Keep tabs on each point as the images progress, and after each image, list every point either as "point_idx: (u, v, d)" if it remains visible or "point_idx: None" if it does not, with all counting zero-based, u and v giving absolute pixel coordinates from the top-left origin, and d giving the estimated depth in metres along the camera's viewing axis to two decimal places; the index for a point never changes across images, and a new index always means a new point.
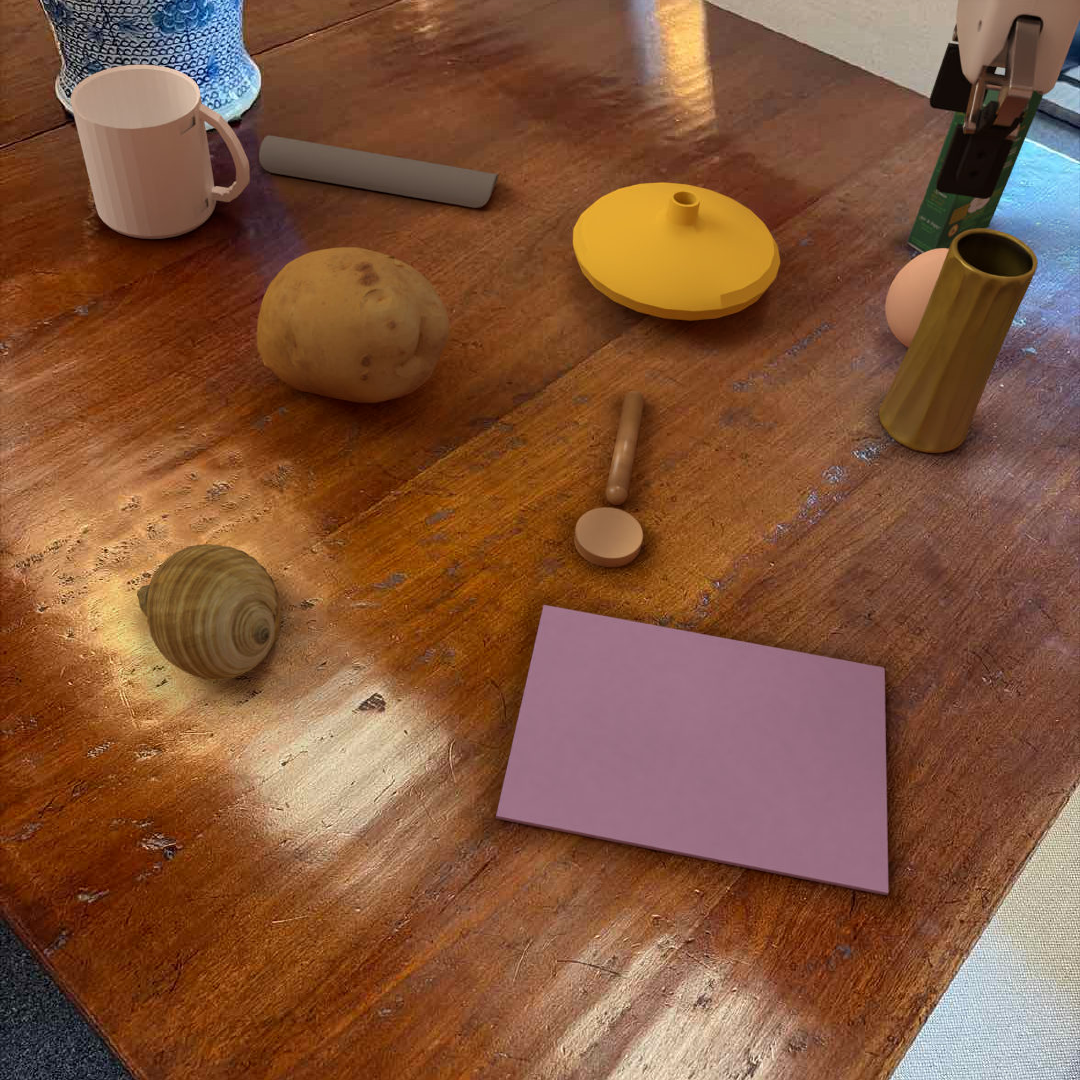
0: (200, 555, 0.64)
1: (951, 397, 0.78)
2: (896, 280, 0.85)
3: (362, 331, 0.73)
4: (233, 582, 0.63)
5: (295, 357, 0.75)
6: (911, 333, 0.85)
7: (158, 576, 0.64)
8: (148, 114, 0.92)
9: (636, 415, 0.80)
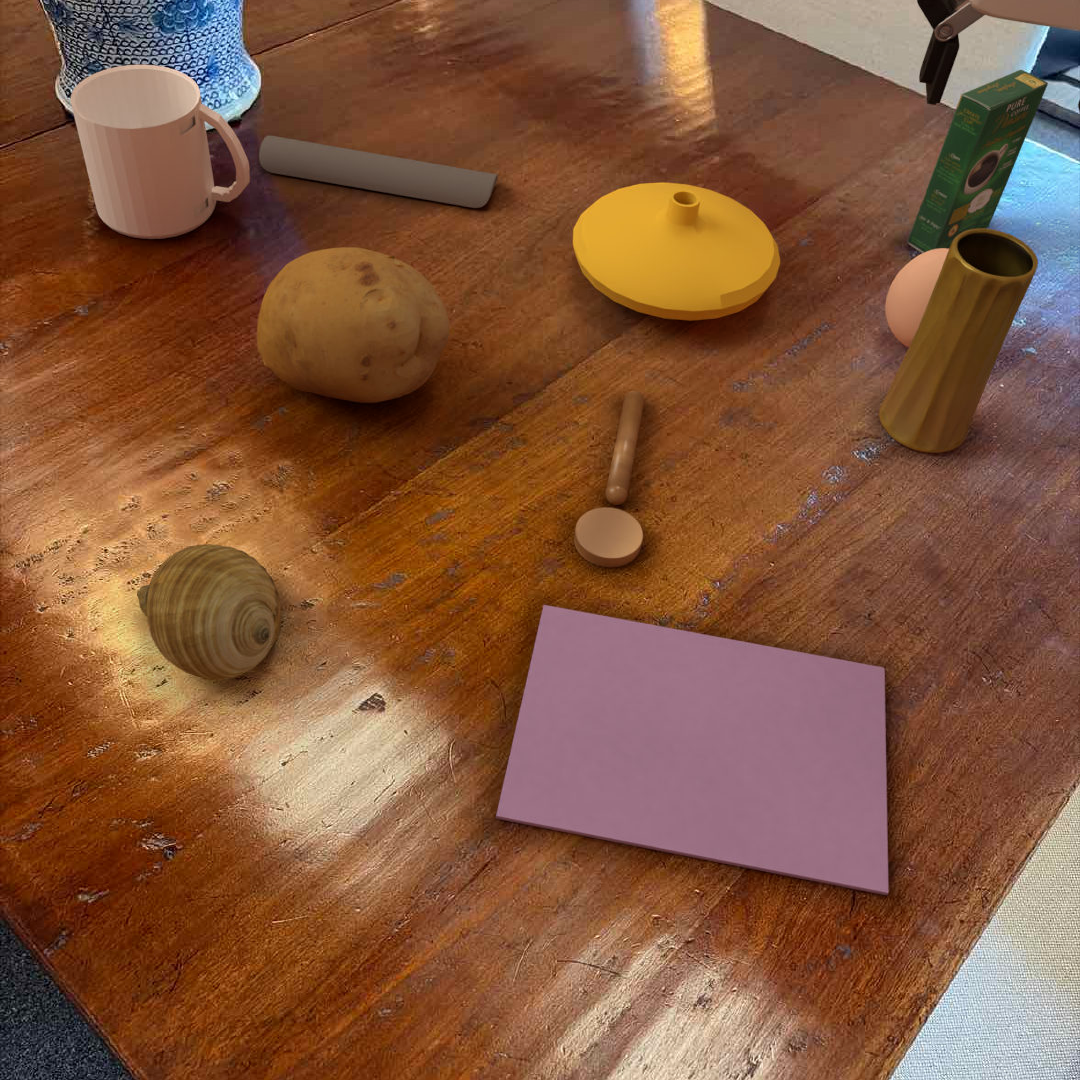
0: (200, 555, 0.64)
1: (951, 397, 0.78)
2: (896, 280, 0.85)
3: (362, 331, 0.73)
4: (233, 582, 0.63)
5: (295, 357, 0.75)
6: (911, 333, 0.85)
7: (158, 576, 0.64)
8: (148, 114, 0.92)
9: (636, 415, 0.80)
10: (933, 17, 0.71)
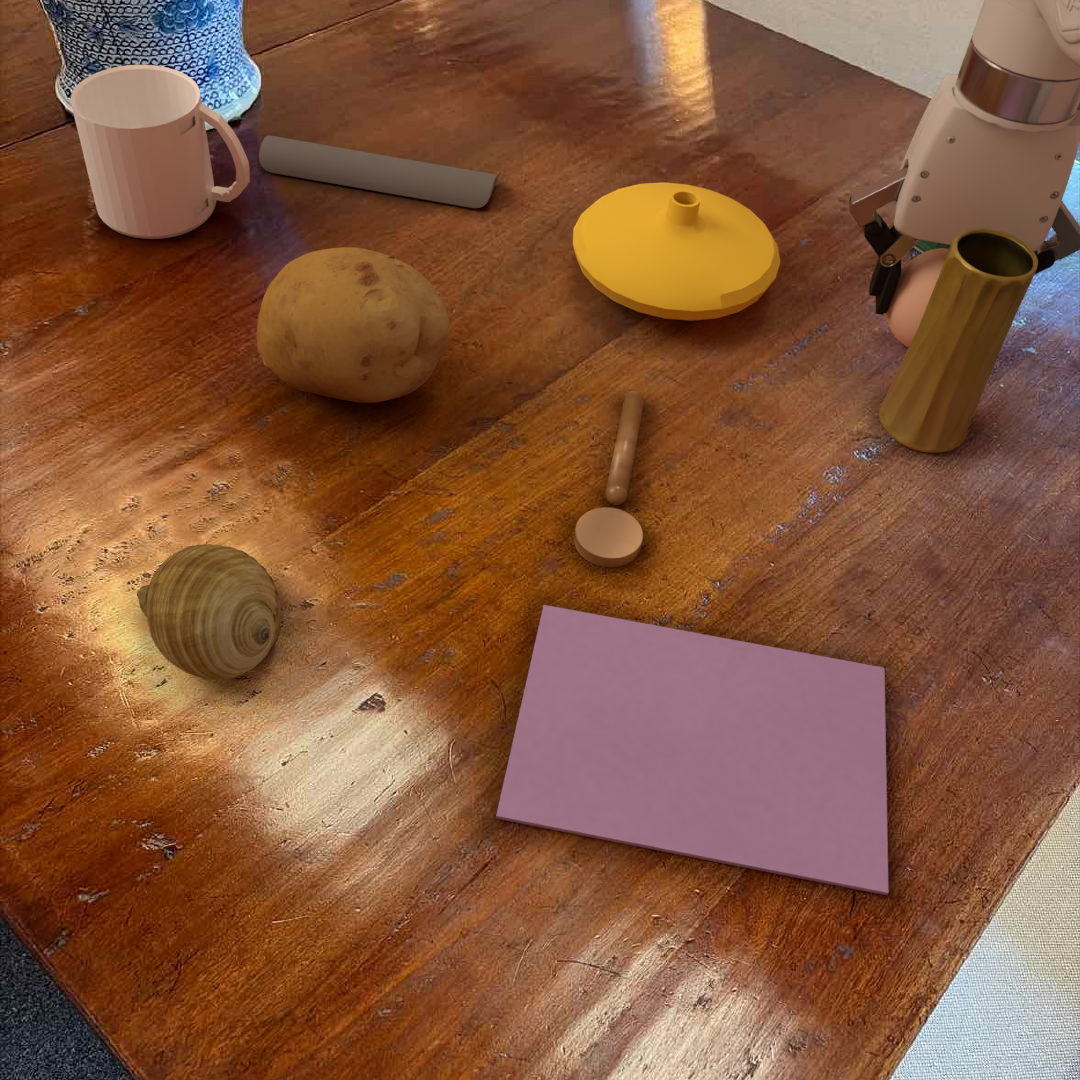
0: (200, 555, 0.64)
1: (951, 397, 0.78)
2: None
3: (362, 331, 0.73)
4: (233, 582, 0.63)
5: (295, 357, 0.75)
6: (911, 333, 0.85)
7: (158, 576, 0.64)
8: (148, 114, 0.92)
9: (636, 415, 0.80)
10: (878, 247, 0.83)
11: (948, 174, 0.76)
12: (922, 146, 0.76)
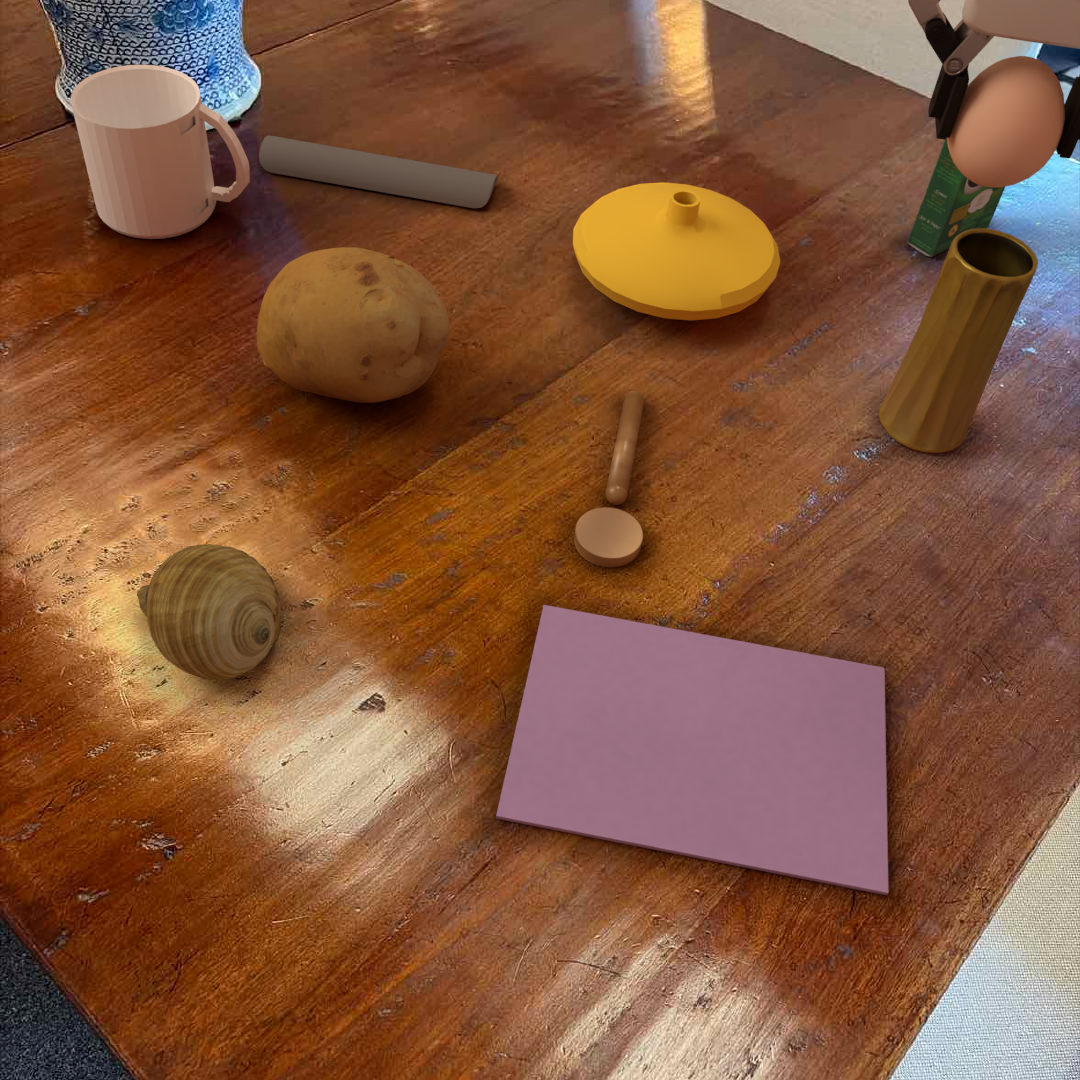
0: (200, 555, 0.64)
1: (951, 397, 0.78)
2: None
3: (362, 331, 0.73)
4: (233, 582, 0.63)
5: (295, 357, 0.75)
6: (979, 159, 0.72)
7: (158, 576, 0.64)
8: (148, 114, 0.92)
9: (636, 415, 0.80)
10: (942, 51, 0.70)
11: None
12: None
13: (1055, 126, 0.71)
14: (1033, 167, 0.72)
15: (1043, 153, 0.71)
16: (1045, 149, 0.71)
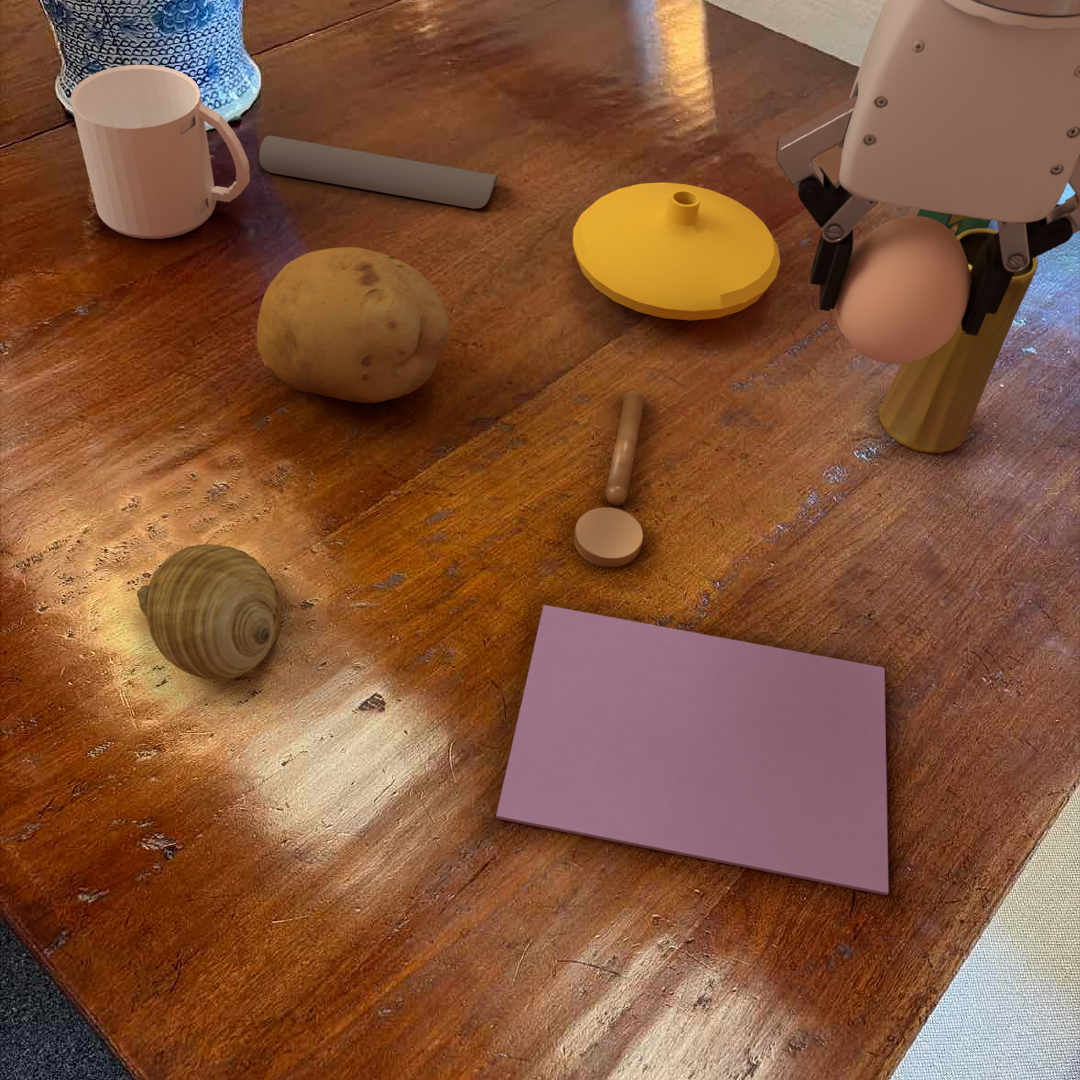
0: (200, 555, 0.64)
1: (951, 397, 0.78)
2: None
3: (362, 331, 0.73)
4: (233, 582, 0.63)
5: (295, 357, 0.75)
6: (868, 337, 0.60)
7: (158, 576, 0.64)
8: (148, 114, 0.92)
9: (636, 415, 0.80)
10: (819, 214, 0.58)
11: (915, 101, 0.51)
12: (877, 59, 0.51)
13: (957, 302, 0.59)
14: (932, 347, 0.60)
15: (943, 332, 0.59)
16: (945, 328, 0.59)
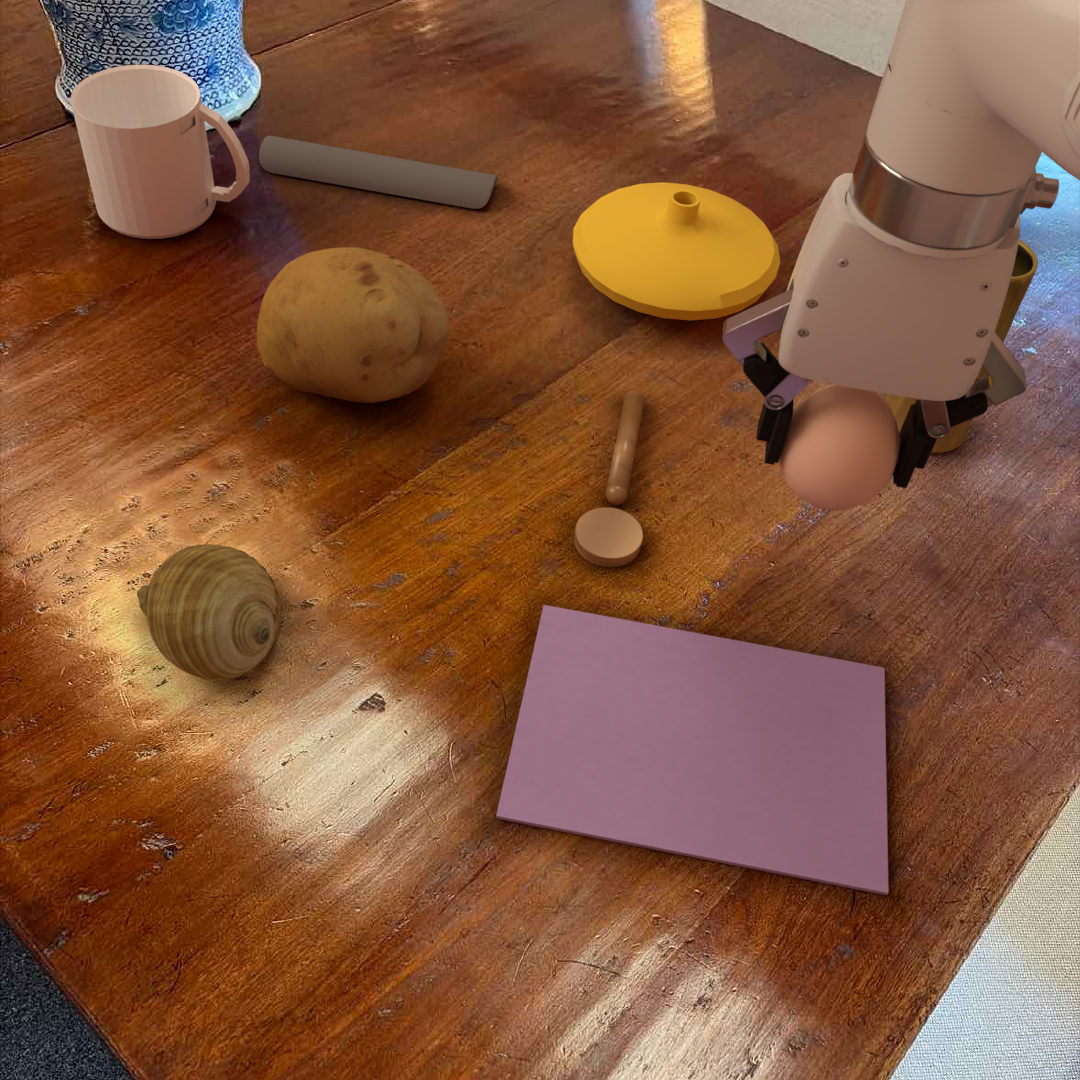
0: (200, 555, 0.64)
1: None
2: None
3: (362, 331, 0.73)
4: (233, 582, 0.63)
5: (295, 357, 0.75)
6: (808, 490, 0.67)
7: (158, 576, 0.64)
8: (148, 114, 0.92)
9: (636, 415, 0.80)
10: (762, 385, 0.64)
11: (842, 305, 0.58)
12: (808, 268, 0.58)
13: (887, 463, 0.65)
14: (866, 499, 0.67)
15: (875, 488, 0.66)
16: (877, 484, 0.66)
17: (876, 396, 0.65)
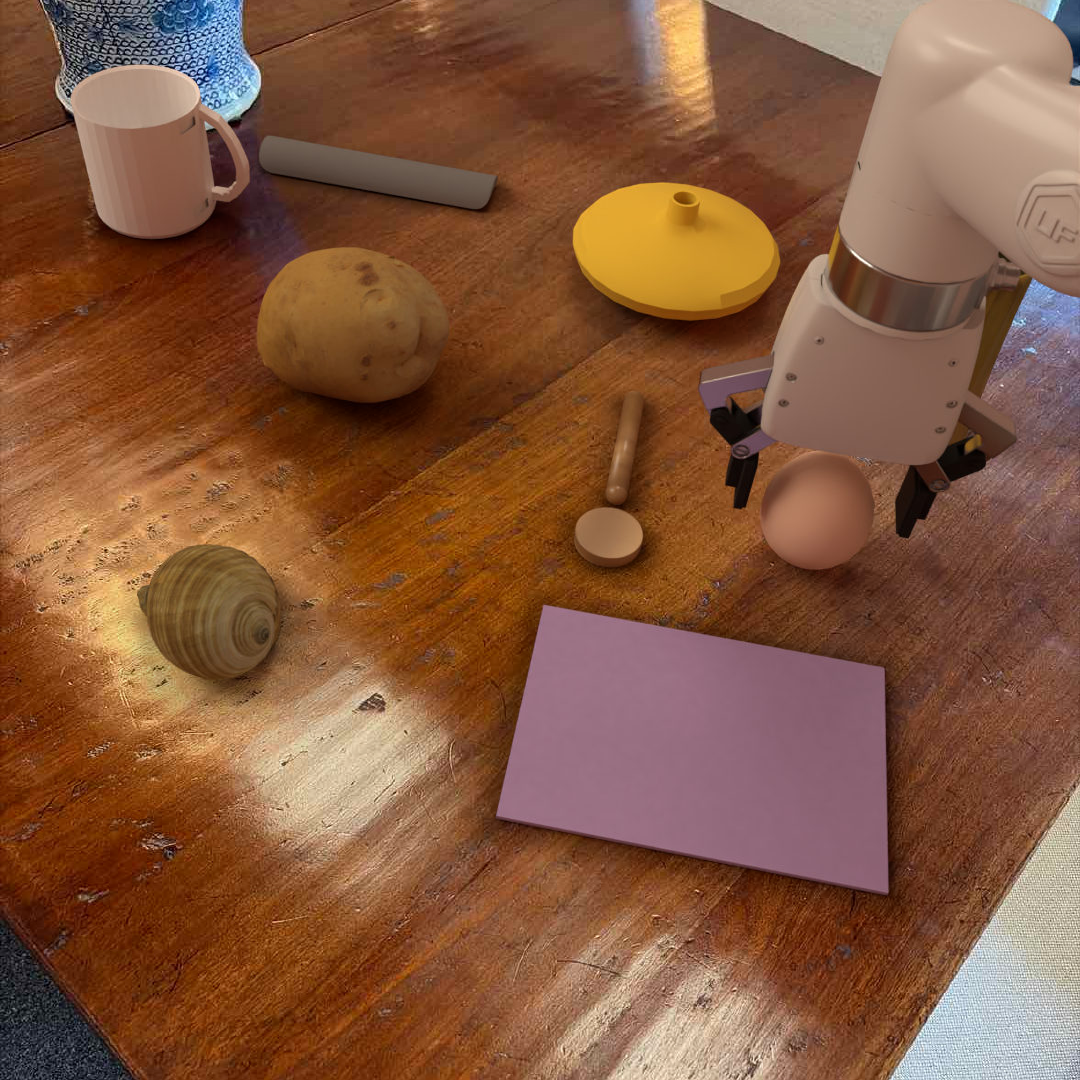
0: (200, 555, 0.64)
1: None
2: (770, 487, 0.71)
3: (362, 331, 0.73)
4: (233, 582, 0.63)
5: (295, 357, 0.75)
6: (787, 552, 0.71)
7: (158, 576, 0.64)
8: (148, 114, 0.92)
9: (636, 415, 0.80)
10: (729, 436, 0.67)
11: (819, 379, 0.61)
12: (787, 344, 0.61)
13: (861, 527, 0.69)
14: (842, 560, 0.71)
15: (850, 550, 0.70)
16: (852, 547, 0.70)
17: (851, 464, 0.69)
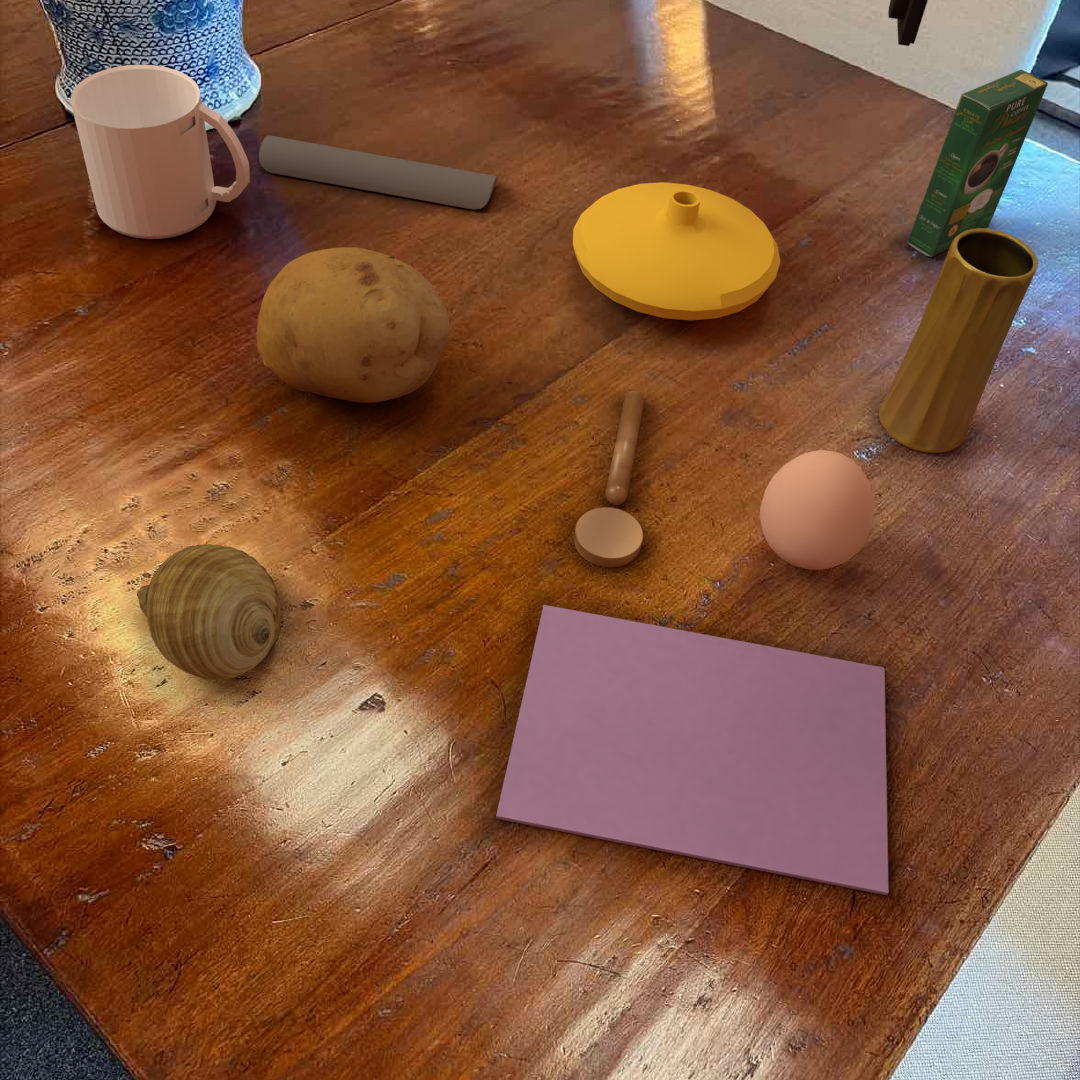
0: (200, 555, 0.64)
1: (951, 397, 0.78)
2: (770, 487, 0.71)
3: (362, 331, 0.73)
4: (233, 582, 0.63)
5: (295, 357, 0.75)
6: (787, 552, 0.71)
7: (158, 576, 0.64)
8: (148, 114, 0.92)
9: (636, 415, 0.80)
10: None
11: None
12: None
13: (861, 527, 0.69)
14: (842, 560, 0.71)
15: (850, 550, 0.70)
16: (852, 547, 0.70)
17: (851, 464, 0.69)
